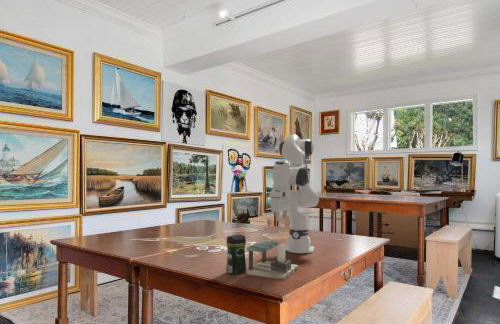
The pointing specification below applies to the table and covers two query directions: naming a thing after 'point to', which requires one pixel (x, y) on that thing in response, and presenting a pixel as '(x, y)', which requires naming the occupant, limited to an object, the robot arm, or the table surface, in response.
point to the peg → (280, 253)
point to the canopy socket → (268, 267)
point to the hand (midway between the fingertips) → (281, 219)
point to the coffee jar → (236, 254)
